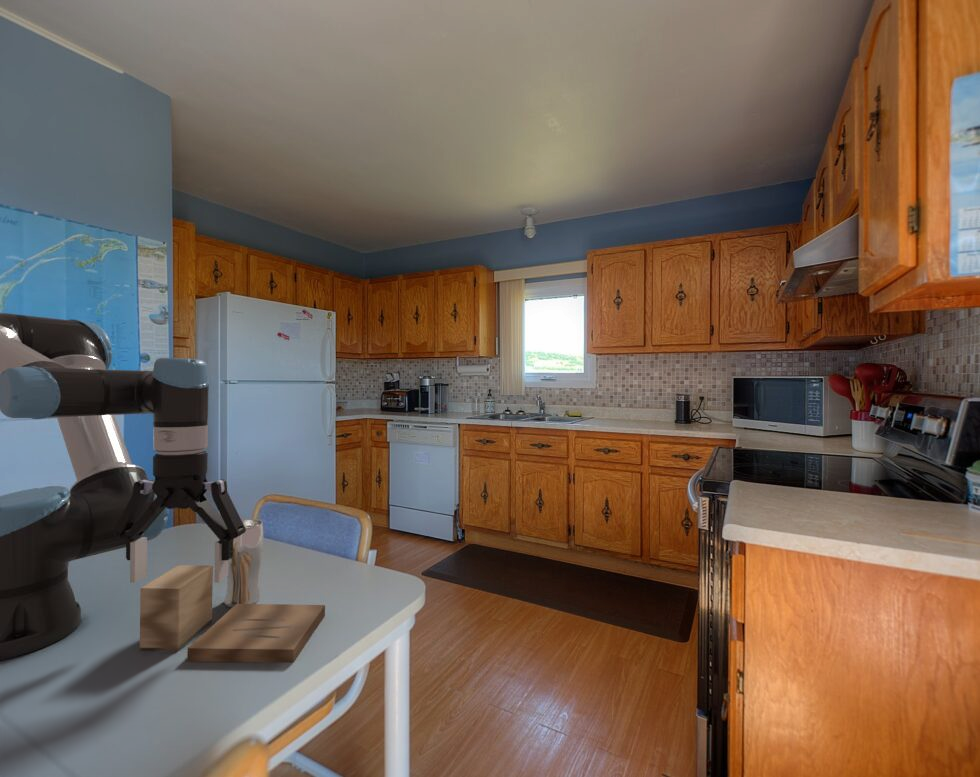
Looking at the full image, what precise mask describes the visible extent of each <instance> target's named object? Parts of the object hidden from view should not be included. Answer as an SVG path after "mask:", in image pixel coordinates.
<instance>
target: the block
mask: <svg viewBox="0 0 980 777" xmlns="http://www.w3.org/2000/svg"><path fill="white" fill-rule="evenodd" d="M213 570H214V565H197V564H195V565H194V564H193V565H192V564H190V565H188V564H187V565H186V564H183V565H182V564H180V565H176V566H174V567H172V568H171V569H170V570H168V571H167V572H165V573H163V574H161V575H160V576H158V577H156V578H154V579H153V580H151V581H150V582H148V583H146V584H144V585H143V586H142V587H140V588H139V589H140V596H139V597H140V598H139V603H140V604H139V609H140V610H139V649H138V650H139V652H166V653H167V652H169V653H170V652H173V653H174V652H175V653H177V652H180V651H181V650H182V649H184V647H186V645H188V644H189V643H190V642H191V641H192V640H193V639H195V638H196V636H198V635H199V634H200V633H201V632H202V631H204V630H205V629H206V628H207V627H208V626H209V625H210V624H211V623H212V622H213V582H214V581H213V578H214V576H213V575H214V574H213V573H214V571H213Z"/></svg>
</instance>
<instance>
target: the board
mask: <svg viewBox="0 0 980 777" xmlns="http://www.w3.org/2000/svg"><path fill="white" fill-rule="evenodd" d="M325 617H326V604H286V603H285V604H281V603H280V604H279V603H277V604H276V603H273V604H272V603H271V604H270V603H267V604H266V603H254V604H236V605H235V606H234V607H233V608H230V609H229V610H228V611H227V612H226V613H224V614H223V615H222V617H221V618H219V619H218V620H217V621H216V622H215V623H214V624H213V625H211V627H209V628H208V629H207V630H206V631H205V632H204V633H203V634H202V635H201V636H199V637H198V638H197V639H196V640H195V641H194V642H193V643H192V644H190V645H189V646H188V647H187V653H186V654H187V655H186V656H187V659H186V660H187V662H206V663H207V662H214V663H215V662H216V663H217V662H218V663H219V662H220V663H222V662H224V663H228V662H230V663H293V664H294V662H295V661H296V660H297V658H298V656H299V655H300V653H301V652H302V651H303V649H304V648H305V646H306V645H307V643H308V642H309V640H310V639H311V638H312V635H313V634H314V633H315V631H316V630H317V629H318V627H319V626H320V624H321V623H322V621H323V620H324V618H325Z"/></svg>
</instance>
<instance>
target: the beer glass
mask: <svg viewBox="0 0 980 777" xmlns="http://www.w3.org/2000/svg"><path fill="white" fill-rule="evenodd" d="M241 520H242V522H243V525H244V527H245V529H246V531H245V533H243V534H242V535H240V536H238V537H237V538H234V540H233V556H232V558H230V559H229V560H228V576H227V577H226V582H227V583H226V585H227V586H226V593H225V597H224V605H225V606H226V607H228V608H230V609H232V608H233V607H234V606H235V605H236V604H257V602H258V601H259V600H260V598H261V595H260V594H261V592H260V587H259V575H260V570H261V564H262V559H263V552H264V545H265V544H264V537H265V536H264V525H263V524H264V522H263V520H262V519H260V518H259V519H258V518H243V519H242V518H241Z"/></svg>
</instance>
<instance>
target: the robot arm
mask: <svg viewBox="0 0 980 777" xmlns="http://www.w3.org/2000/svg"><path fill="white" fill-rule="evenodd" d="M112 346H113V345H112V343H111V340H110V336H108V334H107V332H106V331H105V330H104V329H103V328H102V327H101V326H99V325H98V324H96V323H93V322H88V321H82V320H79V319H71V318H70V319H60V318H51V317H42V316H35V315H34V316H33V315H25V314H24V315H23V314H16V313H9V312H8V313H7V312H0V412H1V414H3V415H4V416H5V417H7V418H10V419H32V420H41V419H51V418H52V419H53V418H57V422H58V425H59V428H60V432H61V434H62V438H63V441H64V445H65V448H66V450H67V453H68V457H69V459H70V463H71V466H72V468H73V473H74V475H75V479H76V481H75V482H74V483H73V485H72V486H70V489H69V488H68V487H66V486H60V485H58V486H57V485H52V486H44V487H40V488H39V487H35V488H29V489H24V490H19V491H13V492H11V493H7V494H3V495H0V661H3V660H7V659H11V658H15V657H19V656H23V655H25V654H29V653H31V652H34V651H35V652H36V651H37V650H40V649H42V648H45V647H47V646H49V645H52V644H53V643H56V642H58V641H60V640H62V639H64V638H66V637H68V636H69V635H70V634H71V633H73V632H74V631H75V630H76V629H77V628H79V626H80V625H81V622H82V608H81V605H80V603H79V602H78V601H76V597H75V594H74V591H73V588H72V586H71V584H70V582H69V562H72V561H75V560H76V561H77V560H80V559H84V558H88V557H92V556H96V555H99V554H103V553H108V552H112V551H116V550H120V549H124V548H125V559H126V560H127V561H129V562H130V563H129V583H136V582H138V581H140V580H142V579H143V578H145V577H147V576H148V541H151V540H154V539H157V537H158V536H159V535H161V533H162V532H163V531H164V529H165V527H166V524H167V523H168V522H167V521H168V517H169V513H170V510H173V509H181V510H186V509H190V510H191V511H193V512H194V513H196V514H197V515H198V516H199V518H200V519H202V521H203V522H204V523H205V524H206V525H207V526H208V528H209V529H210V530H211V531H212V533H213V534H214V535H215V536H216V537H217V538H218V539H219V540H218V541H216V542H214V581H213V582H214V583H215V584H216V583H220V582H222V581H223V580H224V579H227V576H228V560H229V559H230V558H232V556H233V540H234V538H237V537H238V536H240V535H242V534H243V533H245V531H246V529H245V527H244V525H243V522H242V520H241V519H242V518H241V517H240V515H239V513H238V510H237V509H236V506H235V505H234V502H233V501H232V499H231V496H230V494H229V492H228V483H227V480H226V479H224V478H222V479H218V480H216V481H209V480H208V479H207V473H208V460H209V458H208V452H207V451H206V450H205V449H207V448H208V446H209V445H208V444H209V441H208V439H209V438H208V435H209V433H208V431H209V428H208V427H209V426H208V421H209V416H208V415H209V385H210V381H209V375H208V373H209V372H208V370H209V369H208V365H207V362H205V361H204V360H203V359H197V358H184V357H183V358H181V357H159V358H157V359H156V360H155V361H154V363H153V370H146V369H145V370H138V369H137V370H135V369H134V370H133V369H132V370H131V369H130V370H128V369H110V367H111V364H112V361H113V352H112ZM143 414H144V415H146V414H147V415H148V414H149V415H150V414H152V417H153V423H152V424H153V425H152V426H153V429H152V431H153V436H152V438H153V444H152V445H153V448H152V450H153V451H155V452H157V453H155V454H154V455H153V457H152V476H153V477H154V479H150V478H148V476H147V473H146V471H145V469H144V468H143V467H142V466H140V465H137V464H133V462H132V460H131V457H130V454H129V451H128V449H127V447H126V443H125V441H124V438H123V435H122V432H121V430H120V428H119V424H118V421H117V419H116V417H115V416H121V415H123V416H125V415H143ZM207 491H208V494H209V495H211V497H212V500H213V502H214V505H215V506H216V508H217V510H216V508H215V507H214V506H213V504H212V501H211V500H210V498H209V497H208V496H207V495H206V492H207Z"/></svg>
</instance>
